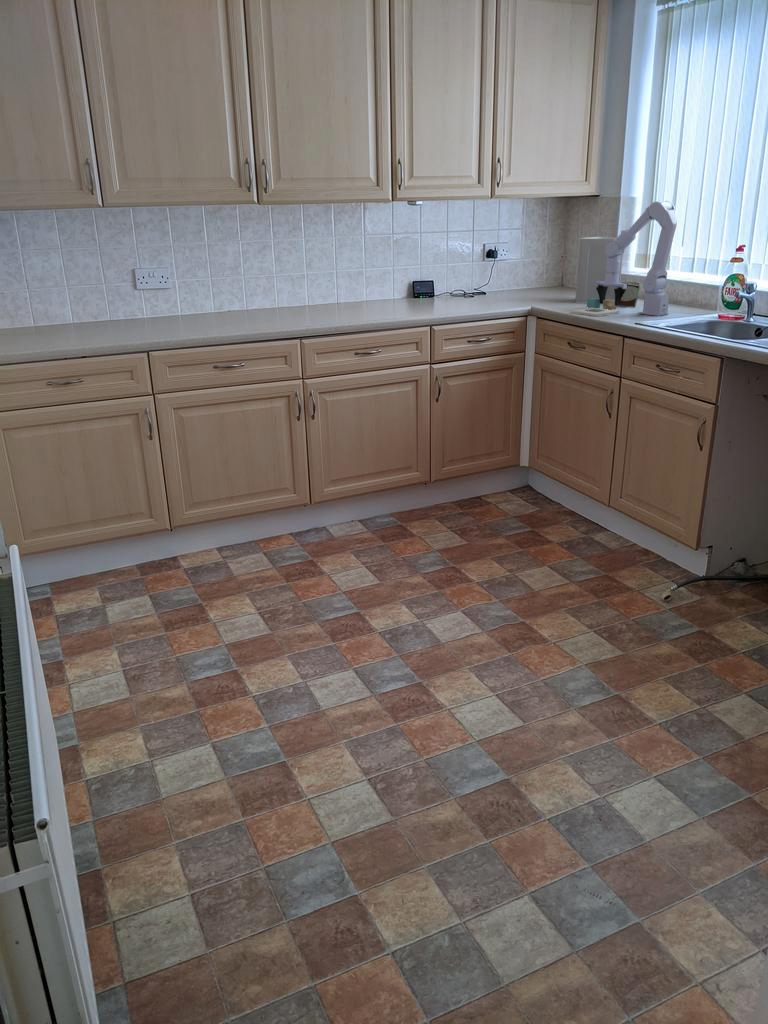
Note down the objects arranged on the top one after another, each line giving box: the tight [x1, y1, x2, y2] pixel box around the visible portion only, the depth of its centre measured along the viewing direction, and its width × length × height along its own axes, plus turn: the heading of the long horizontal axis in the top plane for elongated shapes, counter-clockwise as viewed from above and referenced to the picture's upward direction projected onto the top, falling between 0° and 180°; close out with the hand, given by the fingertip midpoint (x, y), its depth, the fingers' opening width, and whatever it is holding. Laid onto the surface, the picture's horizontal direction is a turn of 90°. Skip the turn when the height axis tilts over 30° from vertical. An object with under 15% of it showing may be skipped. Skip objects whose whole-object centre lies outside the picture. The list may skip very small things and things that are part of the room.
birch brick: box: [602, 299, 617, 310], centre depth 362 cm, size 4×4×4 cm
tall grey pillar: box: [574, 236, 624, 303], centre depth 383 cm, size 19×15×28 cm
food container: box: [615, 281, 642, 308], centre depth 371 cm, size 12×6×10 cm, turn 51°
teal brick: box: [586, 298, 601, 309], centre depth 366 cm, size 4×4×4 cm
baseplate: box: [570, 307, 620, 317], centre depth 352 cm, size 14×14×1 cm
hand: (609, 304), depth 362 cm, fingers open, 7 cm apart
